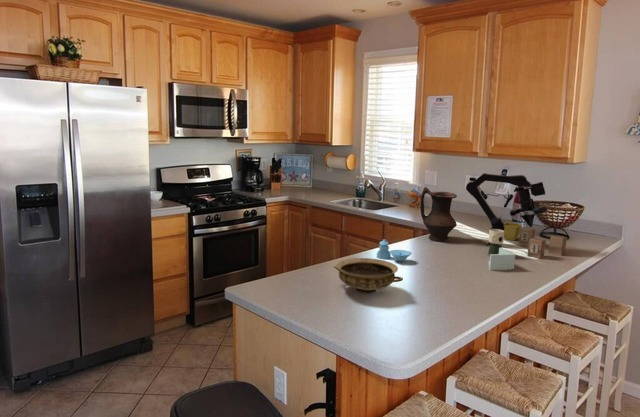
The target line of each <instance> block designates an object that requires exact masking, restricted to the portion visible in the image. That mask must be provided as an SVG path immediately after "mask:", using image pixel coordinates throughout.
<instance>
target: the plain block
mask: <svg viewBox="0 0 640 417" xmlns="http://www.w3.org/2000/svg"><path fill="white" fill-rule="evenodd" d="M567 238H568V237H567V236H561V235H558V234H557V235H556V234H555V235H551V236H550V239H549V246H548V247H549V248H548V254H550V255H556V256H560V257H561V256H563V255H566V246H567Z"/></svg>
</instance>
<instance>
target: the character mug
mask: <svg viewBox="0 0 640 417" xmlns="http://www.w3.org/2000/svg"><path fill="white" fill-rule="evenodd" d="M504 239H505V238H504V231H503V230H499V229H490V228H489V230H488V240H489V242H490V243H491V244H490V246H488V247H489V248H488V252H487V254H488V255H490V254H499V248H502V245H503V244H504ZM500 244H502V245H500Z"/></svg>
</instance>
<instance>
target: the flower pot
mask: <svg viewBox="0 0 640 417" xmlns="http://www.w3.org/2000/svg"><path fill="white" fill-rule="evenodd" d="M521 228H522V224H521V223H515V222H508V221H507V222H506V221H505V228H504V238H503V239H504V240H507V241H508V240H509V241H515V240H517V239H518V238H519V237H520V229H521Z"/></svg>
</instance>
